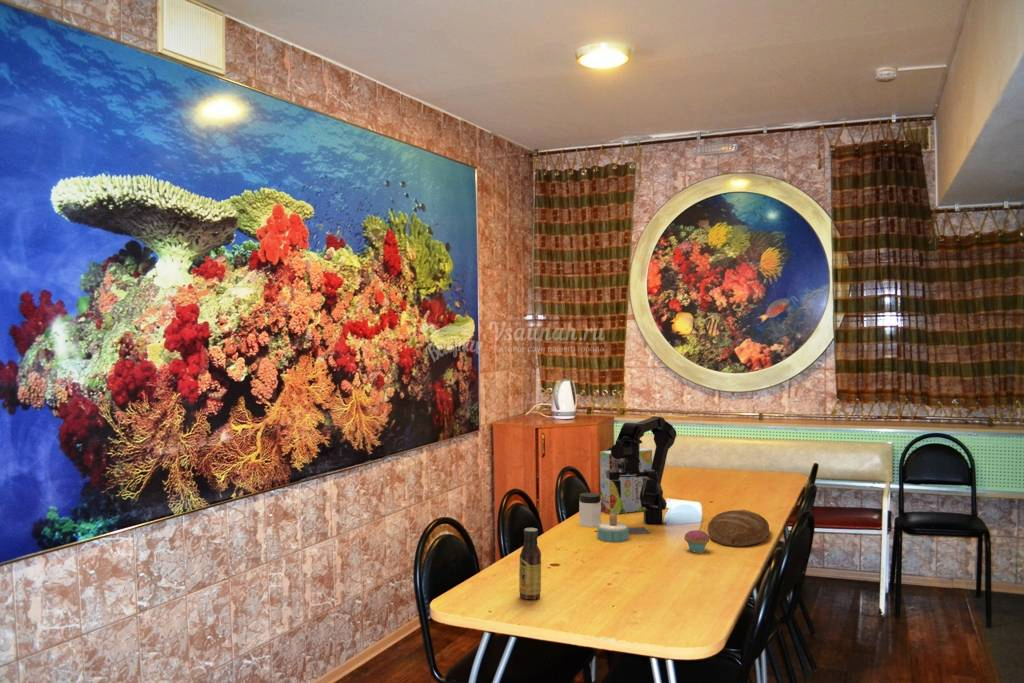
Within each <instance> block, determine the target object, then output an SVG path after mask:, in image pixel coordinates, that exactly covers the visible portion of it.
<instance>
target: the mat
mask: <svg viewBox="0 0 1024 683" xmlns="http://www.w3.org/2000/svg"><path fill="white" fill-rule="evenodd" d="M628 528H629V535H649V534H652V532H650V531H649V530H648V529H646V528H645V527H644V526H637V527H636V526H635V527H633V526H632V527H628Z"/></svg>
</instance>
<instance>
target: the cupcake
mask: <svg viewBox="0 0 1024 683" xmlns="http://www.w3.org/2000/svg"><path fill="white" fill-rule="evenodd" d="M703 521H704V517H702V518H701V519H700V526H699V529H696V530H695V529H694V530H689V531H688V532H686V533H684V536H683V537H684V541H685V542H687V545H688V548H689V551H690V550H691V551H695V552H694V553H696V552H701V553H703V552H702V551H704V552H705V548H706V547H707V546H706V545H707V544H708V543H709V542H710V538H711V537H710V536H709V534H708V532H705V531H703V530H702V528H703V523H704V522H703ZM691 551H690V552H691Z"/></svg>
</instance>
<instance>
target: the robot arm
mask: <svg viewBox="0 0 1024 683" xmlns="http://www.w3.org/2000/svg"><path fill="white" fill-rule="evenodd" d="M647 432H651V433H652V434H653V442H654V444H655V449H654V454H653V457H652V467H651V469H644V471H643V472H640V470H639V463H640V460H639V454H640V448H641V447H640V444H643V441H642V439H640V438H642V437H644V435H645V433H647ZM676 438H677V429H675V427H674V426H673V424H671V423H669V422H668V421H667V420H665V418H664V417H662V416H656V415H655V416H651V417H649V418H646V419H644V420H640V421H638V422H624V423H623V424H622V426H621V427H620V431H619V433H618V436H617V439H616V440H615V444H613V445H612V447H611V448H610V451H611V455H612V456H613V458H615V459H623V458H624V461H623V462H622V461H621V460H617V461H616V469H621V472H618V471H617V470H608V471H607V472H606V477H607V478H608V479H609V480H611V481H612V482H614V484H615V486H616V489H617V492H618V495H619V498H621V481H620V480H619V478H620V477H643V485H642V489H641V492H640V502H641V507H645V511H643V522H644V523H645V524H646V525H647V526H654V525H657V526H659V525H664V522H663V511H665V510H666V509H667V501H666V500H665V498H664V496H663V494H664V491H663V487H662V485H661V484H662V479H663V475H664V470H665V466H666V463H667V462H666V461H667V456H668V454H669V453H668V452H669V450H670V448H671V447H672V446H673V445H674V443H675V441H676ZM627 474H630V475H627ZM635 474H637V475H635Z"/></svg>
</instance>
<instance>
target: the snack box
mask: <svg viewBox="0 0 1024 683" xmlns="http://www.w3.org/2000/svg"><path fill="white" fill-rule="evenodd" d="M617 460H621V461H622V462H623V461H624V458H623V459H615V458H613V456H612V455H611V450H604V451H603V450H602V451H599V463H600V464H599V468H600V469H599V470H600V472H599V475H600V479H599V481H600V496H601V500H600V502H601V512H602V511H603V512H602V513H604V512H605V513H604V514H607V513H608V514H607V515H609V514H610V513H615V514H617V515H619V514H618V513H621V514H626V513H627V512H629V513H635V511H637V512H644V511H643V510H645V507H641V502H640V492H641V489H642V485H643V477H620V478H619V480H620V481H621V498H619V495H618V492H617V489H616V486H615V484H614V482H612V481H611V480H609V479H608V478H607V477H606V472H607V471H608V470H617V471H618V472H621V469H616V461H617ZM639 460H640V463H639V470H640V472H643V471H644V469H651V467H652V462H653V449H649V448H644V447H640V454H639ZM627 475H630V474H627ZM635 475H637V474H635Z"/></svg>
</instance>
